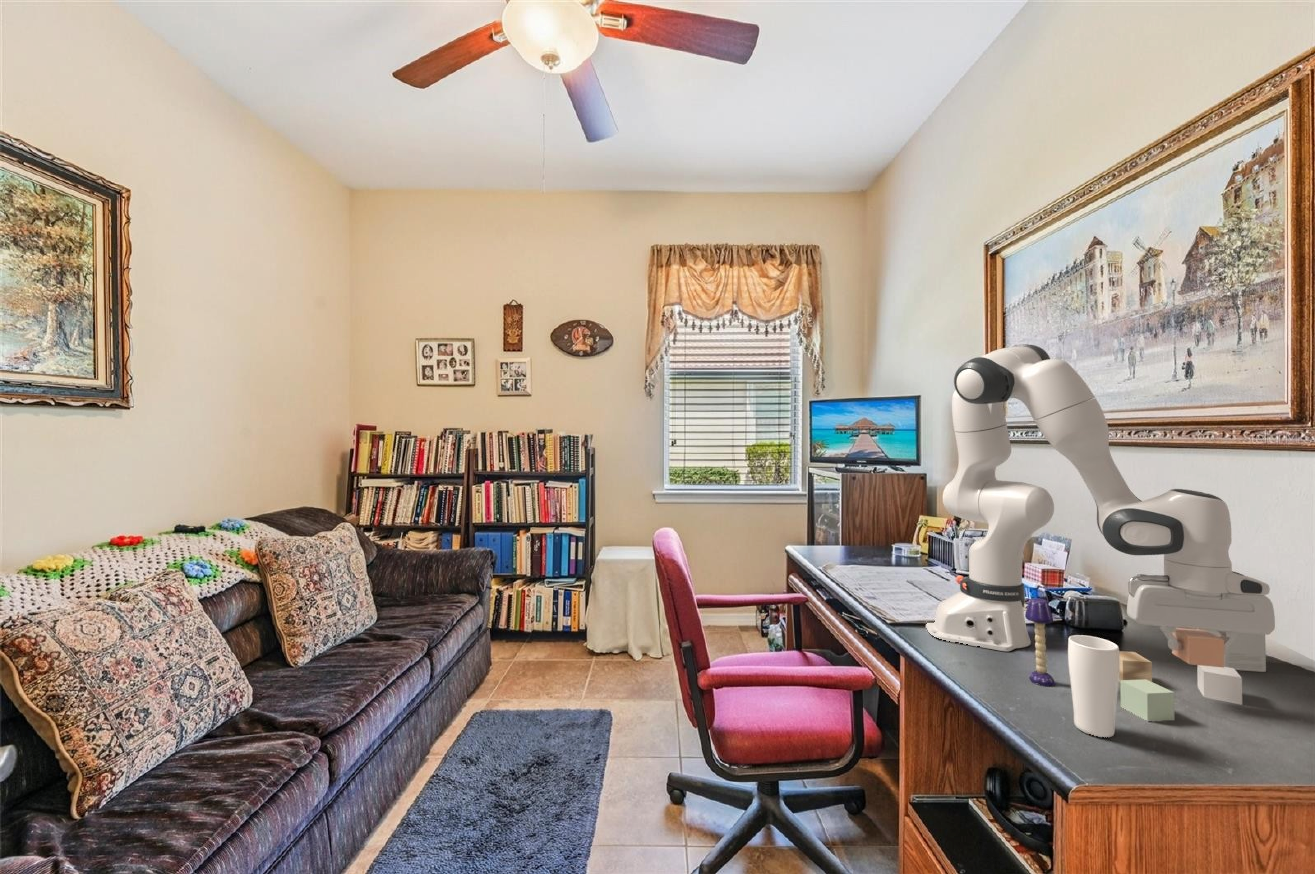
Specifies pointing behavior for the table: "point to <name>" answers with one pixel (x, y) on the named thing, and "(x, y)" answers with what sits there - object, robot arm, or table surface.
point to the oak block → (1134, 667)
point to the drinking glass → (1094, 683)
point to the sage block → (1147, 700)
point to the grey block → (1220, 683)
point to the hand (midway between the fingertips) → (1197, 651)
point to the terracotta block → (1200, 647)
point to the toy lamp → (1040, 639)
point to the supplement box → (1245, 652)
